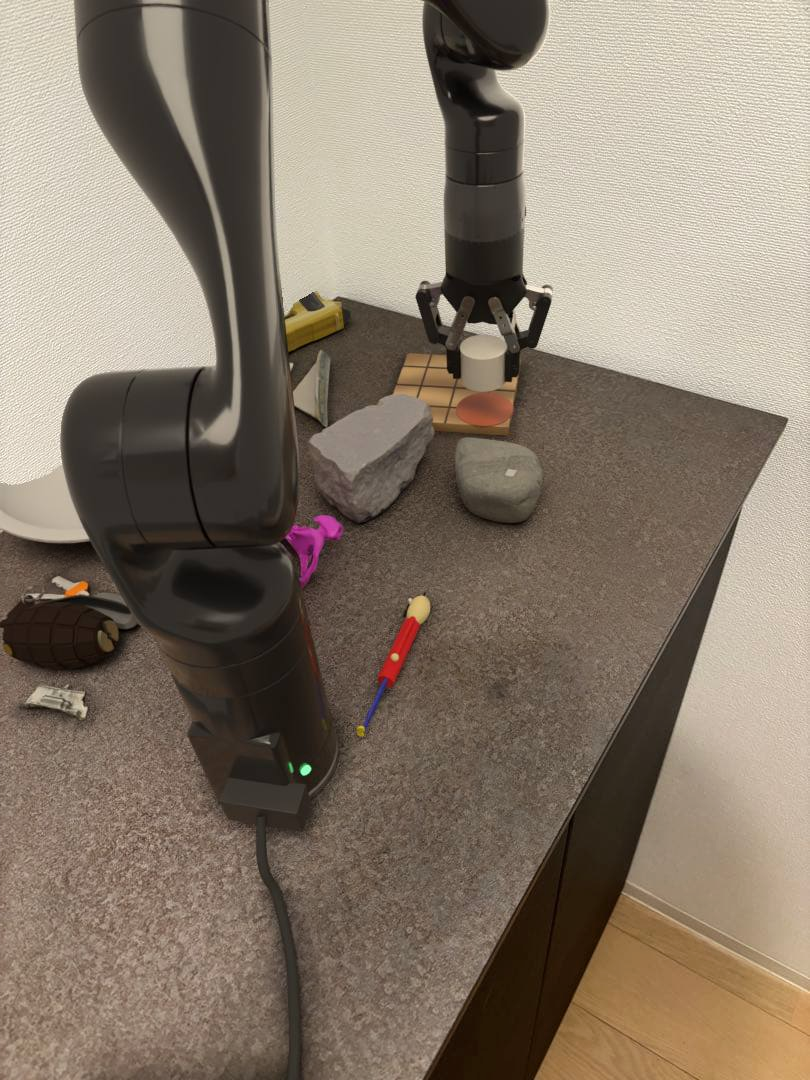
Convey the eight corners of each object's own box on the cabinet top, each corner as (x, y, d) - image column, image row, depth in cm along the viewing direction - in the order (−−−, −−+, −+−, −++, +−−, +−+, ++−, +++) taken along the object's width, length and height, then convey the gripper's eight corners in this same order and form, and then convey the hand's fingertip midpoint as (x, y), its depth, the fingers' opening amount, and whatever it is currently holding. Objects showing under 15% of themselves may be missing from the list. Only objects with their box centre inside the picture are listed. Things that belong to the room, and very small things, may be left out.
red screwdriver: (347, 736, 61) (412, 598, 71) (373, 745, 60) (435, 605, 70) (348, 718, 59) (415, 579, 69) (374, 728, 58) (438, 586, 69)
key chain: (122, 623, 68) (127, 636, 69) (151, 598, 71) (156, 611, 71) (19, 594, 73) (25, 606, 74) (50, 571, 76) (55, 583, 77)
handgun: (309, 295, 114) (360, 322, 107) (193, 342, 105) (240, 374, 98) (307, 279, 112) (359, 305, 105) (189, 324, 104) (236, 356, 97)
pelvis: (267, 525, 79) (253, 474, 74) (350, 550, 76) (342, 498, 71) (195, 610, 72) (176, 558, 67) (285, 642, 68) (271, 590, 64)
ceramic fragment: (327, 429, 90) (323, 400, 87) (282, 432, 90) (276, 403, 87) (334, 365, 100) (330, 338, 98) (293, 368, 100) (288, 340, 98)
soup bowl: (204, 398, 94) (194, 353, 89) (240, 552, 80) (231, 509, 75) (-12, 437, 89) (-35, 391, 84) (-14, 608, 75) (-42, 566, 69)
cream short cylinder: (503, 393, 84) (504, 360, 81) (457, 390, 85) (456, 358, 82) (508, 367, 87) (509, 335, 85) (463, 365, 88) (463, 333, 86)
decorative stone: (301, 518, 80) (391, 537, 76) (287, 464, 75) (383, 481, 72) (360, 435, 89) (443, 448, 86) (351, 383, 85) (438, 394, 81)
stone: (548, 462, 83) (548, 418, 74) (538, 542, 80) (537, 508, 71) (464, 455, 85) (453, 411, 76) (451, 533, 82) (439, 498, 73)
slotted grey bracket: (6, 701, 63) (23, 667, 65) (21, 713, 65) (37, 680, 67) (74, 710, 62) (89, 675, 63) (87, 721, 64) (101, 688, 65)
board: (509, 437, 87) (510, 427, 86) (384, 428, 89) (383, 419, 89) (522, 367, 97) (522, 358, 96) (408, 361, 99) (407, 352, 98)
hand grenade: (119, 684, 66) (4, 679, 68) (152, 615, 70) (43, 613, 73) (91, 645, 62) (-30, 641, 64) (127, 575, 67) (13, 573, 69)
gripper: (401, 236, 73) (412, 392, 85) (559, 239, 70) (547, 400, 82) (416, 204, 78) (424, 355, 90) (564, 205, 75) (552, 361, 87)
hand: (483, 376), depth 86 cm, fingers closed on cream short cylinder, 5 cm apart
